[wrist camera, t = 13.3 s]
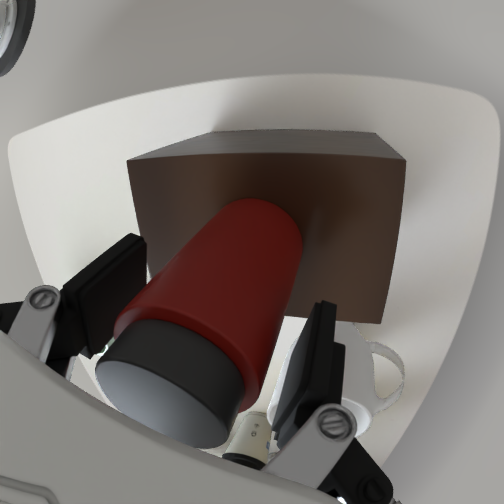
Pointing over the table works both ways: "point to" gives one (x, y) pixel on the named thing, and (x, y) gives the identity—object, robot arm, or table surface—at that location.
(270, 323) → the sauce bottle
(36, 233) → the table surface
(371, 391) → the mug
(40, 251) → the table surface
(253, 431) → the coffee cup
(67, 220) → the table surface
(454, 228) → the table surface
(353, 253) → the block
